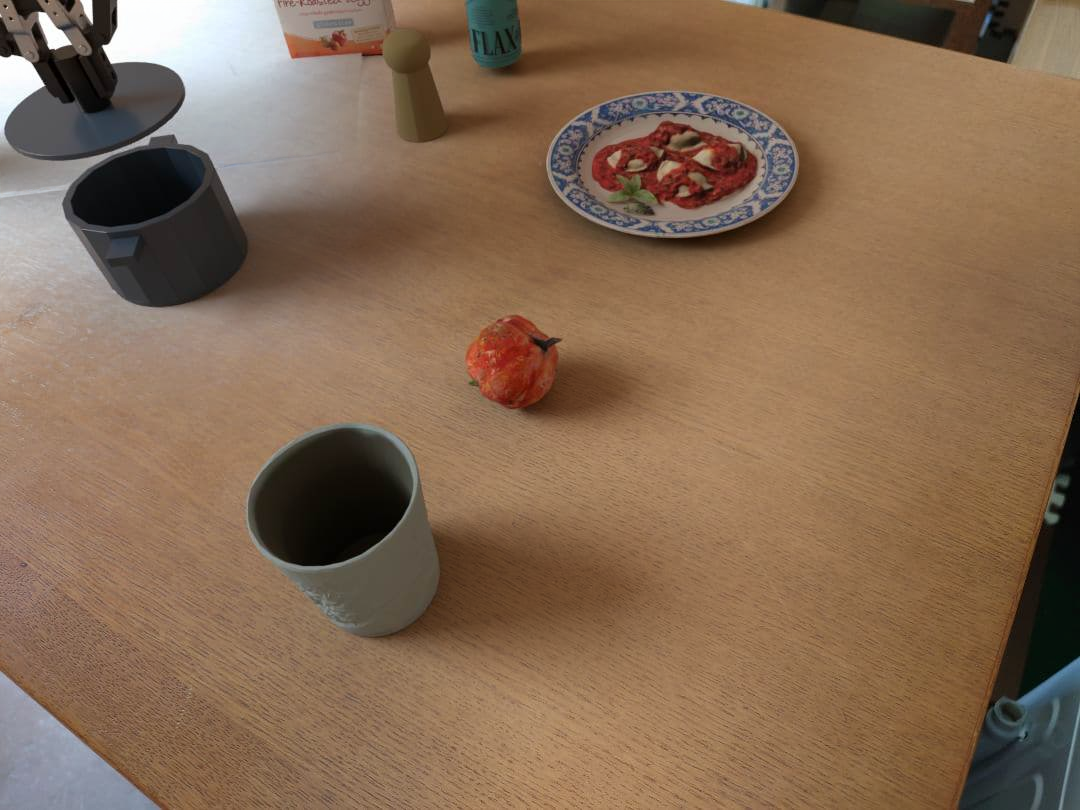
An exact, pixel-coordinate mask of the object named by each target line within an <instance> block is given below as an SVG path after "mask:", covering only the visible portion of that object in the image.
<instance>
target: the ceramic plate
mask: <svg viewBox="0 0 1080 810" xmlns="http://www.w3.org/2000/svg"><path fill="white" fill-rule="evenodd" d="M799 158H800V157H799V152H798V150H797V147H796V144H795V142H794V140H793V139H792V137H791V136H790V134H789V133H788V132H787V130H785V129H784V127H783V126H782V125H781V124H780V123H778V122H777V121H776V120H775V119H773V118H772V117H770V116H769V115H767V114H765V112H763V111H761V110H759V109H757V108H755V107H753V106H751V105H748V104H746V103H743V102H741V101H739V100H736V99H734V98H733V99H732V98H730V97H725V96H721V95H717V94H714V93H706V92H698V91H691V90H657V91H645V92H639V93H634V94H628V95H624V96H620V97H617V98H614V99H610V100H607V101H604V102H602V103H599V104H597V105H594V106H593V107H590V108H588V109H586V110H584V111H582V112H581V113H579V114H578V115H576V116H575V117H574V118H572V119H571V120H569V122H568V121H567V123H566V124H565V125H564V126H563V127H562V128H561V129H560V130H559V131H558V132H557V134H555V136H554V137H553V139H552V141H551V143H550V145H549V148H548V151H547V155H546V159H545V160H546V163H545V164H546V172H547V176H548V180H549V182H550V185H551V186H552V189H553V191H554V192H555V193H556V194H557V196H558V197H559V198H560V200H562V201H563V203H564V204H565V205H567V206H568V207H569V208H570V209H571V210H572V211H574V212H576V213H577V214H579V215H580V216H582V217H584V218H586V219H587V220H589V221H591V222H593V223H596V224H598V225H600V226H602V227H605V228H608V229H610V230H615V231H618V232H621V233H626V234H631V235H634V236H635V235H636V236H642V237H649V238H663V239H664V238H666V239H684V238H685V239H686V238H695V237H704V236H709V235H716V234H721V233H724V232H727V231H731V230H734V229H737V228H740V227H743V226H745V225H747V224H750V223H752V222H754V221H757V220H758V219H760V218H761V217H765V215H767V214H768V213H770V212H772V211H773V210H774V209H775V208H777V206H779V205H780V204H781V203H782V202H783V201H784V200H785V199H786V198H787V196H788V195H789V194H790V192H791V191H792V189H793V187H794V185H795V183H796V181H797V178H798V176H799V169H800V159H799Z"/></svg>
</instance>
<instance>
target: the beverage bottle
mask: <svg viewBox="0 0 1080 810" xmlns="http://www.w3.org/2000/svg"><path fill="white" fill-rule="evenodd" d="M464 6H465V13H466V20H467V28H468V31H467V33H468V41H469V43H470V44H469V47H470V51H471V54H470V55H471V56H472V58H473V60H474V62H475V63H476V64H477V65H479V66H480V67H483V68H490V69H497V68H503V67H508V66H510V65H512V64H514V63H516V62H517V61H518V60H519V59H520V57H521V55H522V51H523V49H522V46H523V40H522V39H523V38H522V28H521V21H520V20H521V16H520V15H519V14H520V11H519V10H520V9H519V8H520V6H519V5H518V0H465V3H464Z"/></svg>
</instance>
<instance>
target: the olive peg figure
mask: <svg viewBox="0 0 1080 810" xmlns="http://www.w3.org/2000/svg"><path fill="white" fill-rule="evenodd" d="M382 53H383V54H382V57H383V60H384V61H385V63H386V65H387V66H388V67H389V68H390V69H391V78H392V79H391V81H392V90H393V91H392V92H393V101H394V102H393V103H394V111H395V124H396V133H397V135H398V137H399V138H400V139H402V140H404V141H406V142H410V143H424V142H425V143H426V142H429V141H433V140H436V139H437V138H439V137H442V135H444V134H445V133H446V131H447V130H448V127H449V122H448V120H447V116H446V113H445V111H444V106H443V103H442V100H441V97H440V95H439V91H438V87H437V85H436V81H435V78H434V76H433V73H432V70H431V66H430V64H429V62H430V60H431V56H432V48H431V42H430V40H429V39H428V37H427V36H426V34H425V32H423V31H421V30H420V29H416V28H412V27H411V28H410V27H409V28H408V27H407V28H405V27H404V28H400V29H397V30H396V31H394V32H392V33H390V34H389V35H388V36H386V38H385V39H384V42H383V47H382Z"/></svg>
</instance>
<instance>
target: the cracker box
mask: <svg viewBox="0 0 1080 810" xmlns="http://www.w3.org/2000/svg"><path fill="white" fill-rule="evenodd" d="M272 3H273V7H274V9H275V12H276V13H275V14H276V15H277V19H278V21H279V25H280V28H281V31H282V34H283V37H284V40H285V44H286V46H287V50H288V53H289V56H290V58H291V59H304V58H314V57H317V58H318V57H327V56H337V55H350V54H351V55H352V54H361V56H369V55H383V53H382V47H383V42H384V39H385V38H386V36H388V35H389V34H390V33H392V32H394V31H396V30H398V27H397V23H396V17H395V13H394V7H393V3H392V0H272Z"/></svg>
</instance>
